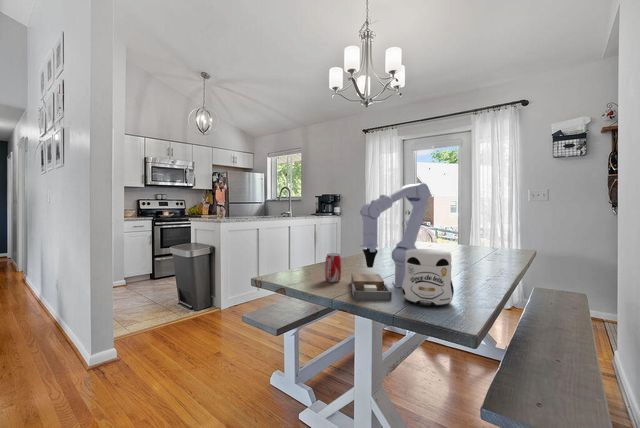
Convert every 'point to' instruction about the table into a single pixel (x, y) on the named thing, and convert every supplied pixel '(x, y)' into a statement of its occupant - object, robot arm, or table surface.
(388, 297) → the tray
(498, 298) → the table surface
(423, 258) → the milk container
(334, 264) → the soda can
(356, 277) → the brown block
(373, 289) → the cream tile
